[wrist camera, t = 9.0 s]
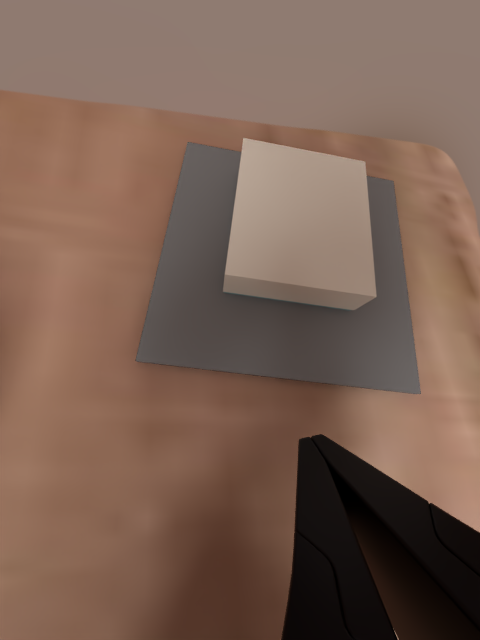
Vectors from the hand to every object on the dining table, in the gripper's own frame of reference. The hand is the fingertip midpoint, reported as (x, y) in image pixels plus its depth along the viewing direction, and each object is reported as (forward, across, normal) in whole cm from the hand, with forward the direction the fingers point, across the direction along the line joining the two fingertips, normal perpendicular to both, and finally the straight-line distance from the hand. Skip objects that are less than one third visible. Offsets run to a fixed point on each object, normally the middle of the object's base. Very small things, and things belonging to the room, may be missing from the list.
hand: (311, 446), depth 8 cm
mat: (+14, +4, +5) cm, 15 cm away
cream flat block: (+10, +3, +3) cm, 11 cm away
